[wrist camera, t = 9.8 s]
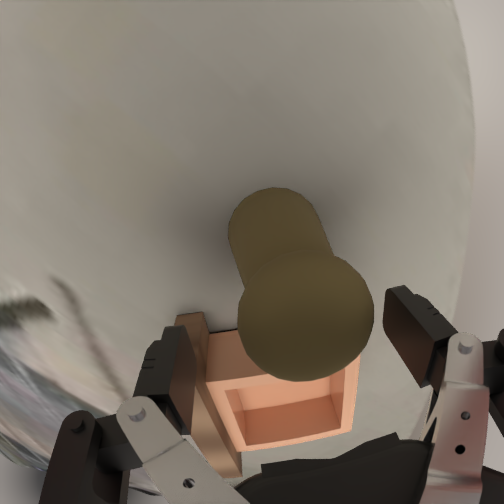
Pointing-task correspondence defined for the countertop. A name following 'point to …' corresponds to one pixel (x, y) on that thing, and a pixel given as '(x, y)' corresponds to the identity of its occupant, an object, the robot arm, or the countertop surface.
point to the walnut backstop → (208, 406)
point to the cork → (295, 290)
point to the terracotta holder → (275, 399)
